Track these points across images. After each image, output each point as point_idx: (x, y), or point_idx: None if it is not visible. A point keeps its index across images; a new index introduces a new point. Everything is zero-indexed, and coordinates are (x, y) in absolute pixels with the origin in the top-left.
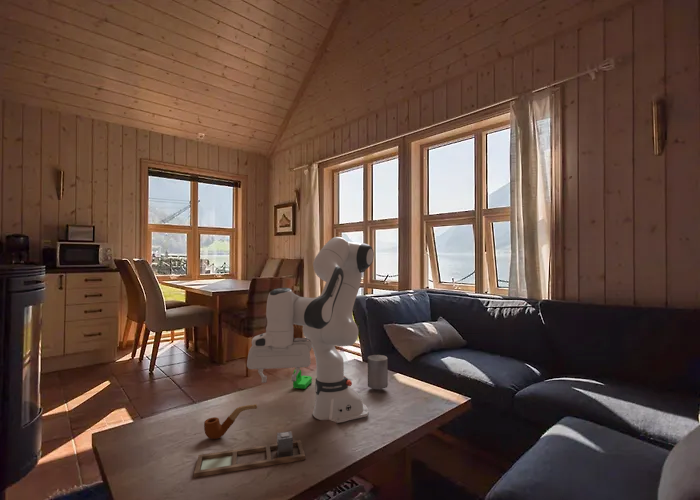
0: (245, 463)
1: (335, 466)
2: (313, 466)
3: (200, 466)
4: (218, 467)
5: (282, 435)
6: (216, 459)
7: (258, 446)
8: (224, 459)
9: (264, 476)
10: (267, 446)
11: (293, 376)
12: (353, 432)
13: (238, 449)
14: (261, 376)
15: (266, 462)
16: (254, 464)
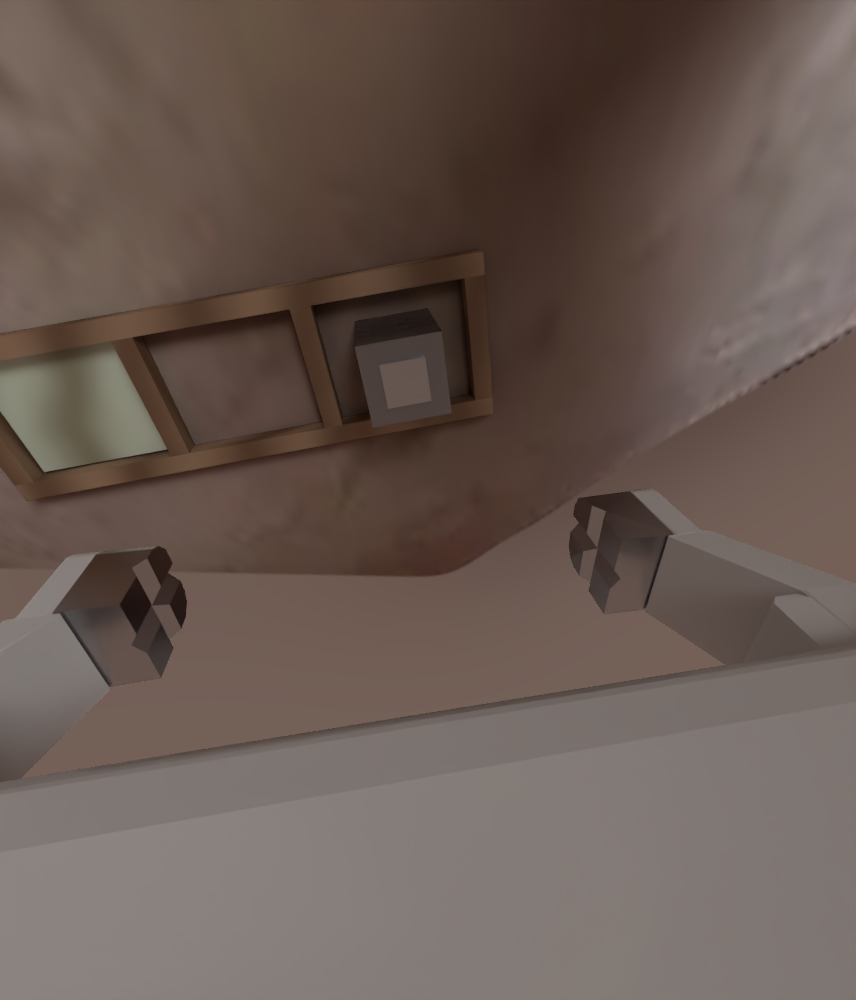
0: (231, 449)
1: (596, 459)
2: (517, 453)
3: (9, 436)
4: (115, 468)
5: (393, 394)
6: (47, 371)
7: (241, 295)
8: (94, 374)
9: (334, 498)
10: (296, 303)
11: (629, 605)
12: (805, 142)
13: (131, 318)
14: (55, 711)
15: (326, 444)
16: (275, 452)
